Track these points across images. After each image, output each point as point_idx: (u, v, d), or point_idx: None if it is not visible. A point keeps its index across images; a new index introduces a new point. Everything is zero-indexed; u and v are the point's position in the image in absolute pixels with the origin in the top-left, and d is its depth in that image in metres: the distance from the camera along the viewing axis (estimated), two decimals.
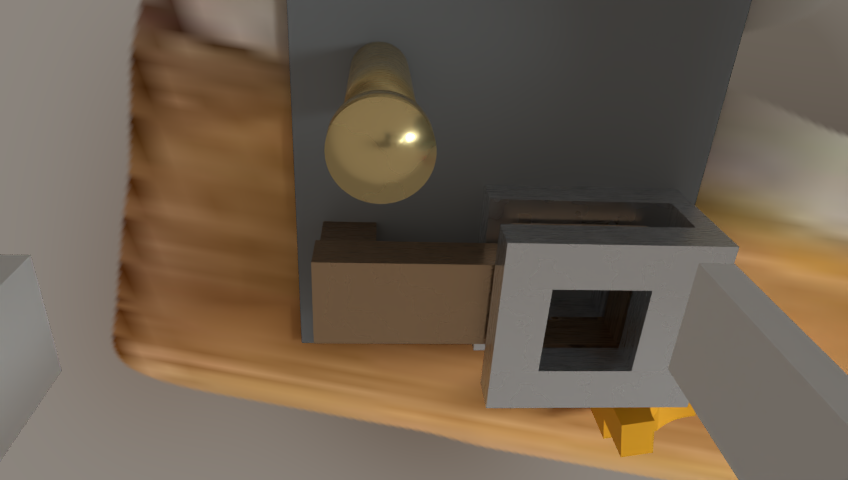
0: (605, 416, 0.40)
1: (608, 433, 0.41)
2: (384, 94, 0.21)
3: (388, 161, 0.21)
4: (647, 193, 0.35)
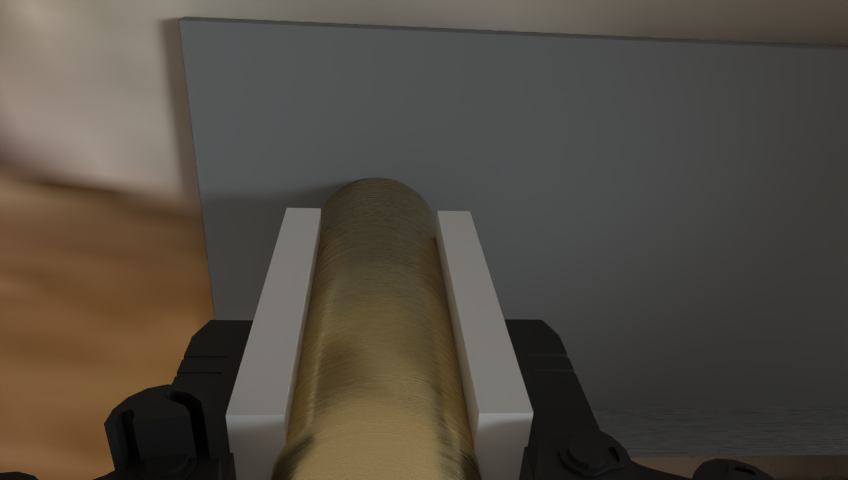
0: None
1: None
2: None
3: None
4: None
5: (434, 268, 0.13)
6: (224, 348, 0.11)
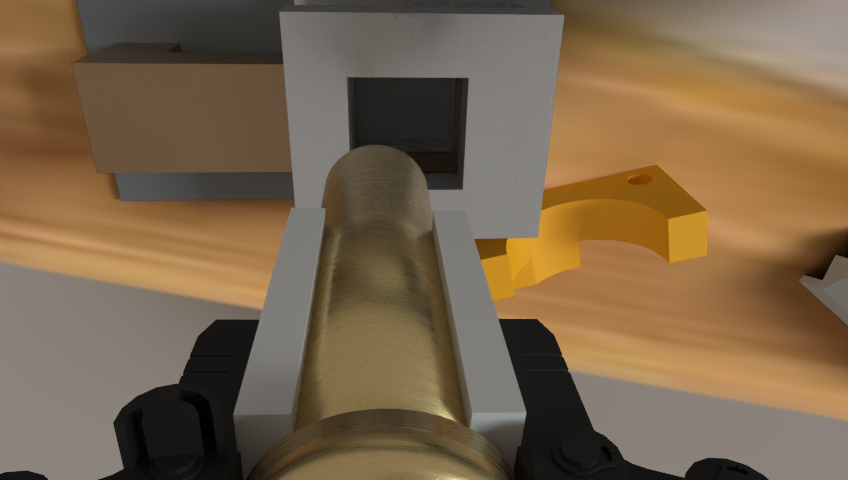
0: None
1: None
2: (389, 445, 0.07)
3: None
4: None
5: (425, 215, 0.15)
6: (230, 348, 0.11)
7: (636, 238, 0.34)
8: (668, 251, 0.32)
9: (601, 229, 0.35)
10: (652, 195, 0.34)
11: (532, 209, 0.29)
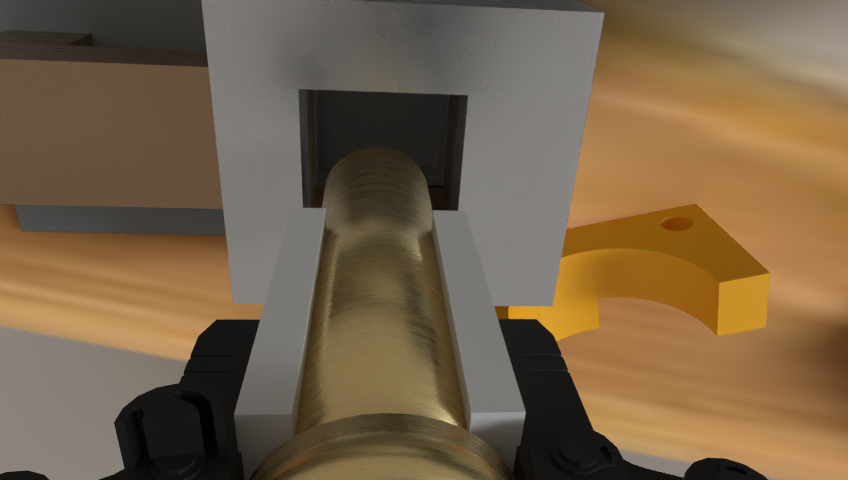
0: None
1: None
2: (390, 450, 0.07)
3: None
4: None
5: (426, 217, 0.15)
6: (231, 348, 0.11)
7: (672, 299, 0.27)
8: (716, 322, 0.25)
9: (627, 285, 0.28)
10: (695, 247, 0.26)
11: (547, 270, 0.22)
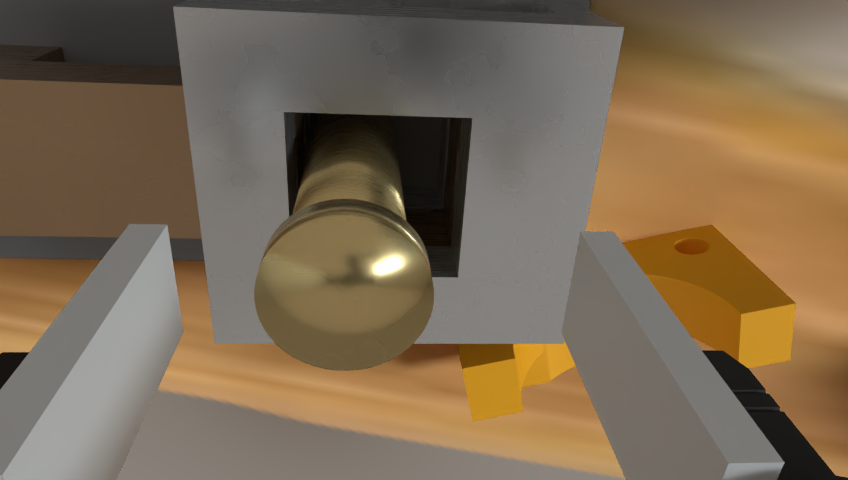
0: None
1: None
2: (347, 210, 0.13)
3: (358, 311, 0.14)
4: None
5: (387, 134, 0.21)
6: (2, 387, 0.09)
7: (688, 328, 0.25)
8: (737, 355, 0.23)
9: None
10: (713, 273, 0.25)
11: (557, 306, 0.20)
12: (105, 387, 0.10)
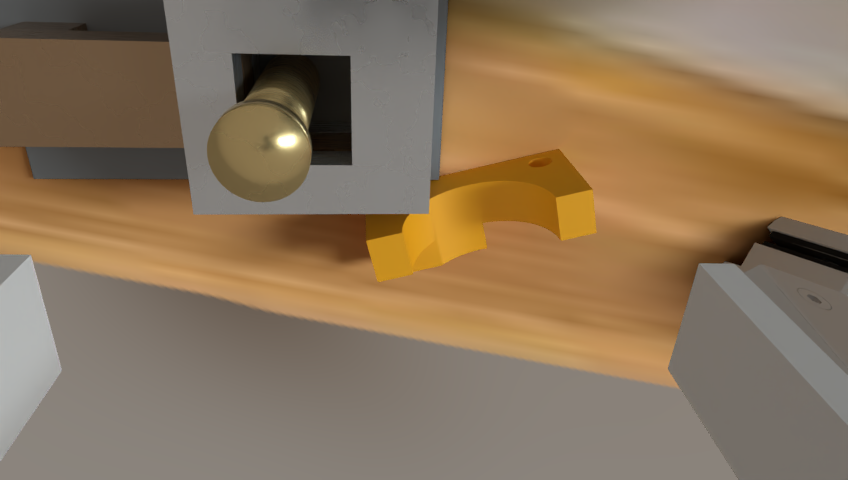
0: None
1: None
2: (257, 103, 0.23)
3: (267, 163, 0.24)
4: None
5: (306, 77, 0.31)
6: None
7: (534, 218, 0.36)
8: (559, 229, 0.33)
9: (503, 210, 0.37)
10: (547, 177, 0.35)
11: (421, 185, 0.30)
12: None
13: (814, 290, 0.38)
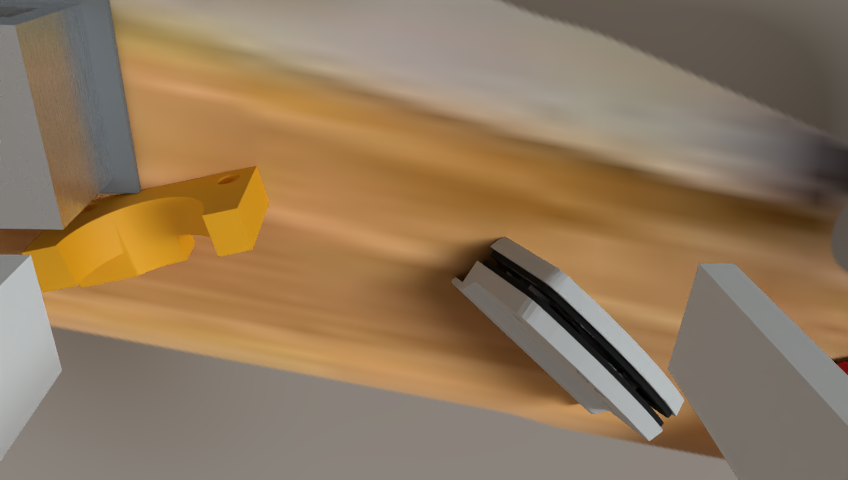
0: None
1: (83, 281, 0.39)
2: None
3: None
4: (33, 3, 0.33)
5: None
6: None
7: None
8: (214, 245, 0.35)
9: (190, 225, 0.38)
10: (218, 194, 0.36)
11: (48, 202, 0.31)
12: None
13: (509, 310, 0.39)
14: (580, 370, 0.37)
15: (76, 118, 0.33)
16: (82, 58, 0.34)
